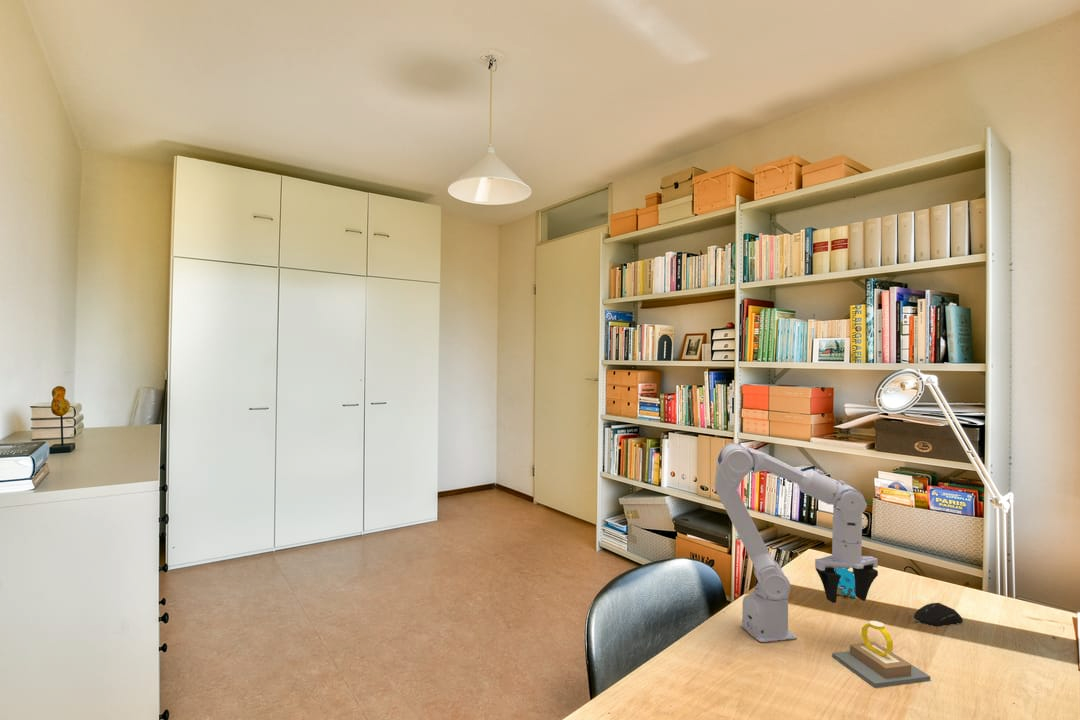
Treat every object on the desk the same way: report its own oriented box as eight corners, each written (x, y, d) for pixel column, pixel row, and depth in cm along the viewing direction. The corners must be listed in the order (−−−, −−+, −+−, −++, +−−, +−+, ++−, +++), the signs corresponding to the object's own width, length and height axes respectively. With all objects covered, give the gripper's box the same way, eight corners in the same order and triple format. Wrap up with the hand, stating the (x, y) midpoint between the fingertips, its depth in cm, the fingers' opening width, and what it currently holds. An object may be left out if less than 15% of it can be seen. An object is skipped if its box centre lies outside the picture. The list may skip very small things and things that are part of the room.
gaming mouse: (898, 618, 130) (898, 602, 130) (942, 612, 134) (943, 596, 134) (923, 631, 124) (923, 614, 124) (968, 624, 128) (969, 607, 128)
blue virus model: (838, 593, 140) (824, 557, 147) (825, 602, 144) (813, 566, 151) (876, 598, 141) (861, 562, 148) (863, 606, 145) (848, 571, 152)
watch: (859, 647, 111) (857, 618, 111) (868, 645, 112) (867, 616, 112) (886, 660, 105) (884, 629, 106) (896, 658, 106) (894, 627, 107)
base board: (874, 687, 101) (874, 672, 101) (832, 656, 112) (832, 642, 112) (930, 680, 104) (930, 665, 104) (883, 650, 115) (883, 637, 115)
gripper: (831, 546, 113) (830, 610, 113) (889, 544, 116) (888, 605, 116) (809, 536, 120) (808, 595, 120) (864, 533, 123) (863, 592, 123)
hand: (846, 599), depth 118 cm, fingers open, 7 cm apart
